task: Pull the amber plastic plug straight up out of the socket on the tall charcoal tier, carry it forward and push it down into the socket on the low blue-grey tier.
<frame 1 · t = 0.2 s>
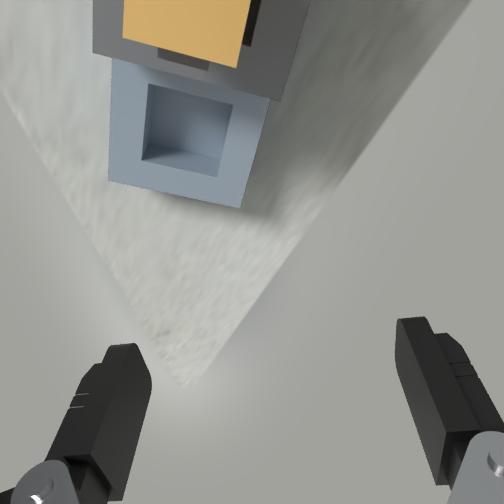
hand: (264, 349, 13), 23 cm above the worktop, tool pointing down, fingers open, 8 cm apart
socket block: (203, 41, 28), on the worktop
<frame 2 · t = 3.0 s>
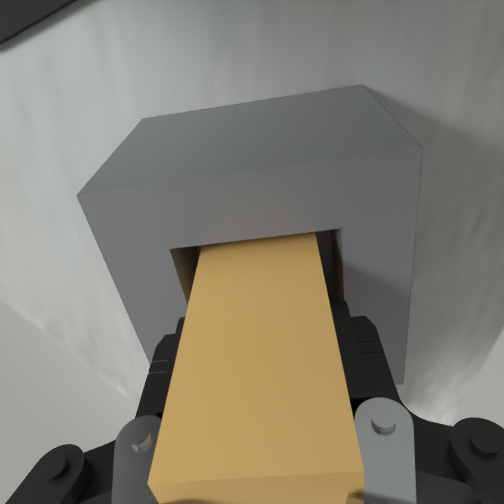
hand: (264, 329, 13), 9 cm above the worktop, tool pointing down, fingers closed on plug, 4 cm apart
plug: (264, 256, 17), point 5 cm above the worktop, touching gripper, socket block
socket block: (276, 277, 24), on the worktop
when the fingers open (7 cm above the worktop, at t = 9.4 s): plug drops 1 cm, resting on socket block.
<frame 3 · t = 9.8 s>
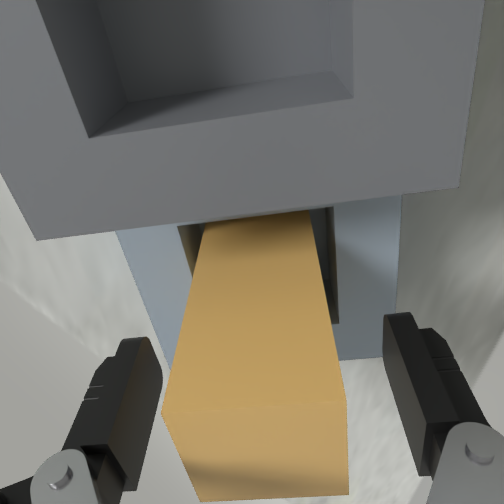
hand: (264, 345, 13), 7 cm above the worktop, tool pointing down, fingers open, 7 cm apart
plug: (263, 237, 18), point 1 cm above the worktop, touching socket block
socket block: (247, 118, 16), on the worktop
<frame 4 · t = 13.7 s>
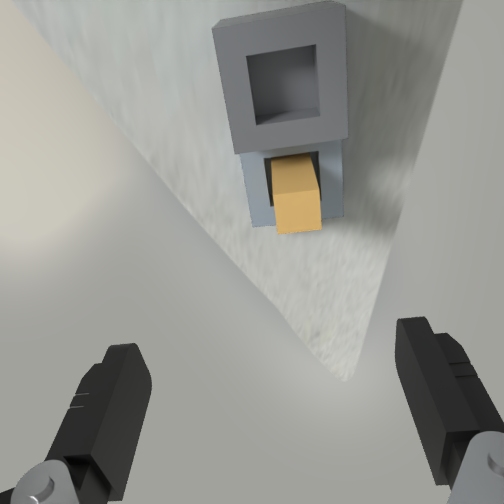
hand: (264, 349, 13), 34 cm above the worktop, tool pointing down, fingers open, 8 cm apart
plug: (291, 168, 44), point 1 cm above the worktop, touching socket block
socket block: (286, 120, 42), on the worktop
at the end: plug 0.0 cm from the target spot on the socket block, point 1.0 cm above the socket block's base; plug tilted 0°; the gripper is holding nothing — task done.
